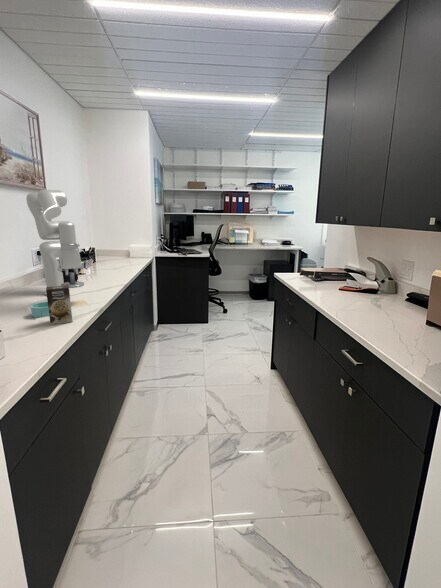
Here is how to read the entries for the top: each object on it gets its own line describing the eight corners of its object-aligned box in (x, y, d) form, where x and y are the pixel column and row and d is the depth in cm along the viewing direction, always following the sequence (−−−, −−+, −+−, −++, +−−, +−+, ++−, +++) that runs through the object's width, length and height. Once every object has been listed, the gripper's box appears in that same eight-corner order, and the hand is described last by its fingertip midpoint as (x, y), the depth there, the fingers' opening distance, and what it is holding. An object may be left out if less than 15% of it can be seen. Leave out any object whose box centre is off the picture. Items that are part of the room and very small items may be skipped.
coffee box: (50, 325, 135) (45, 289, 131) (50, 321, 140) (45, 286, 136) (73, 322, 139) (68, 287, 135) (72, 318, 144) (68, 284, 140)
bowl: (30, 313, 150) (29, 304, 149) (55, 309, 157) (54, 300, 156) (34, 319, 142) (32, 309, 141) (60, 315, 148) (58, 305, 147)
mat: (62, 304, 167) (62, 303, 167) (83, 300, 173) (83, 299, 173) (67, 308, 158) (66, 307, 158) (89, 305, 165) (89, 304, 165)
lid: (58, 284, 165) (57, 272, 163) (81, 281, 171) (79, 269, 169) (63, 289, 156) (62, 276, 154) (86, 286, 163) (85, 273, 161)
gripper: (83, 245, 166) (86, 278, 171) (49, 247, 156) (53, 282, 161) (87, 246, 160) (90, 281, 165) (52, 248, 150) (56, 285, 156)
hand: (72, 281), depth 163 cm, fingers closed on lid, 3 cm apart
